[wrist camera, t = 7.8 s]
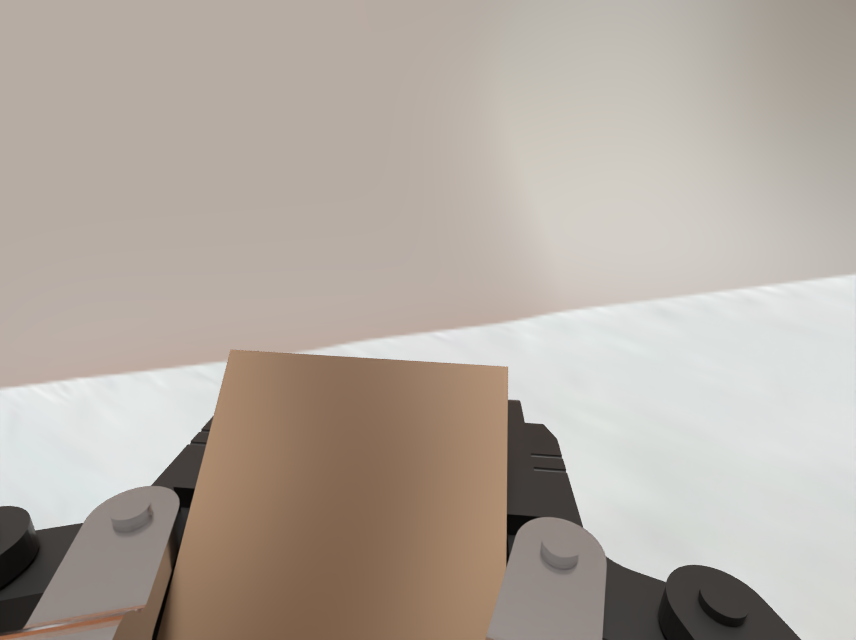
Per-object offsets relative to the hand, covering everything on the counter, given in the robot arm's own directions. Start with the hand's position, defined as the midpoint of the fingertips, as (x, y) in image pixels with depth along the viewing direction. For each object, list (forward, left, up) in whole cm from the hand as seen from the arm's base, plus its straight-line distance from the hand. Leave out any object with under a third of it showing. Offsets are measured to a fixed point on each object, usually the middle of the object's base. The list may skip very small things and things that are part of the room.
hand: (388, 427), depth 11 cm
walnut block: (0, +2, -4) cm, 5 cm away
